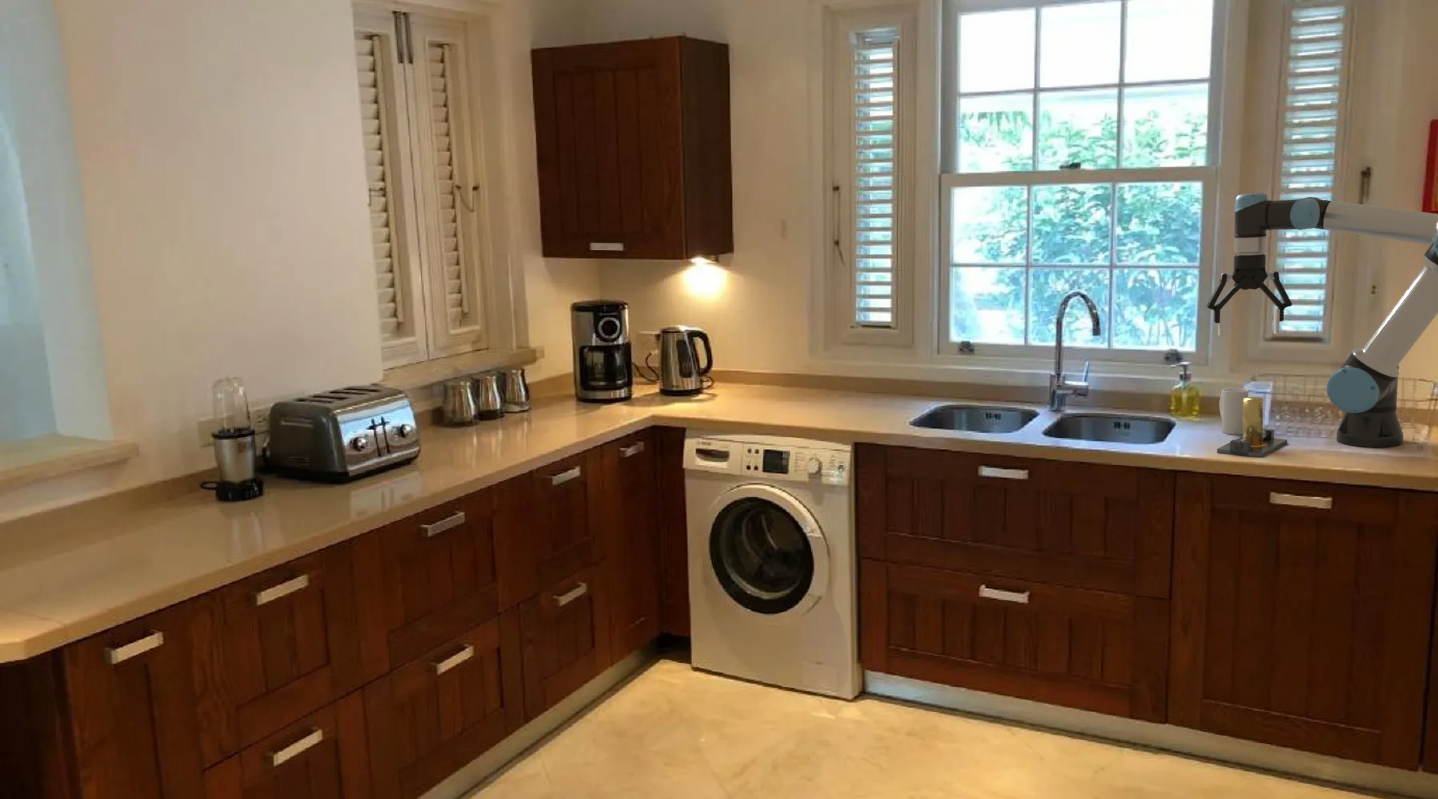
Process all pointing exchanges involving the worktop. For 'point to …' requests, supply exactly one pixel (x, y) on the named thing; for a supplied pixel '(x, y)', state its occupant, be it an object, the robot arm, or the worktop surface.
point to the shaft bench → (1245, 448)
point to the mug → (1232, 410)
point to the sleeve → (1253, 420)
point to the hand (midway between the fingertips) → (1248, 334)
